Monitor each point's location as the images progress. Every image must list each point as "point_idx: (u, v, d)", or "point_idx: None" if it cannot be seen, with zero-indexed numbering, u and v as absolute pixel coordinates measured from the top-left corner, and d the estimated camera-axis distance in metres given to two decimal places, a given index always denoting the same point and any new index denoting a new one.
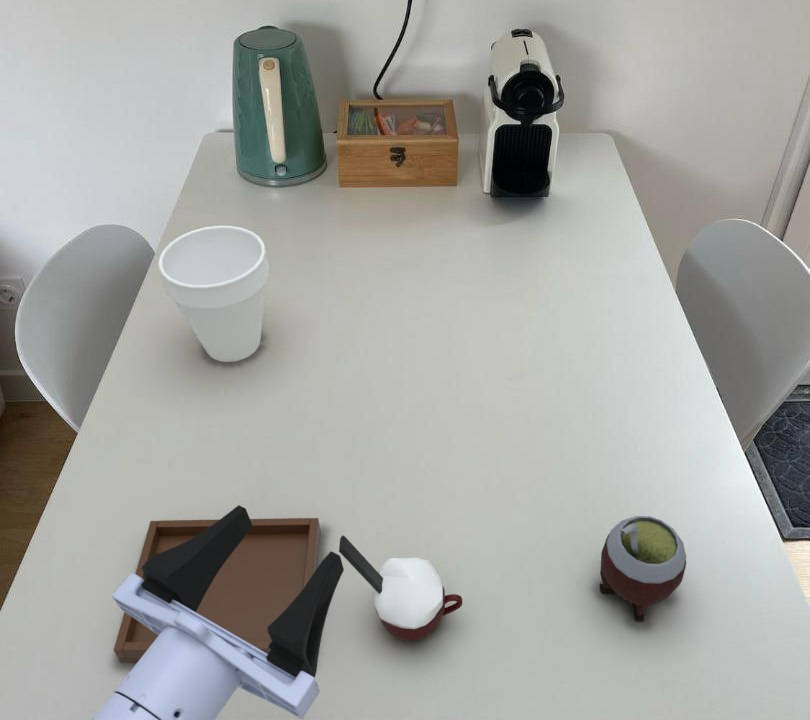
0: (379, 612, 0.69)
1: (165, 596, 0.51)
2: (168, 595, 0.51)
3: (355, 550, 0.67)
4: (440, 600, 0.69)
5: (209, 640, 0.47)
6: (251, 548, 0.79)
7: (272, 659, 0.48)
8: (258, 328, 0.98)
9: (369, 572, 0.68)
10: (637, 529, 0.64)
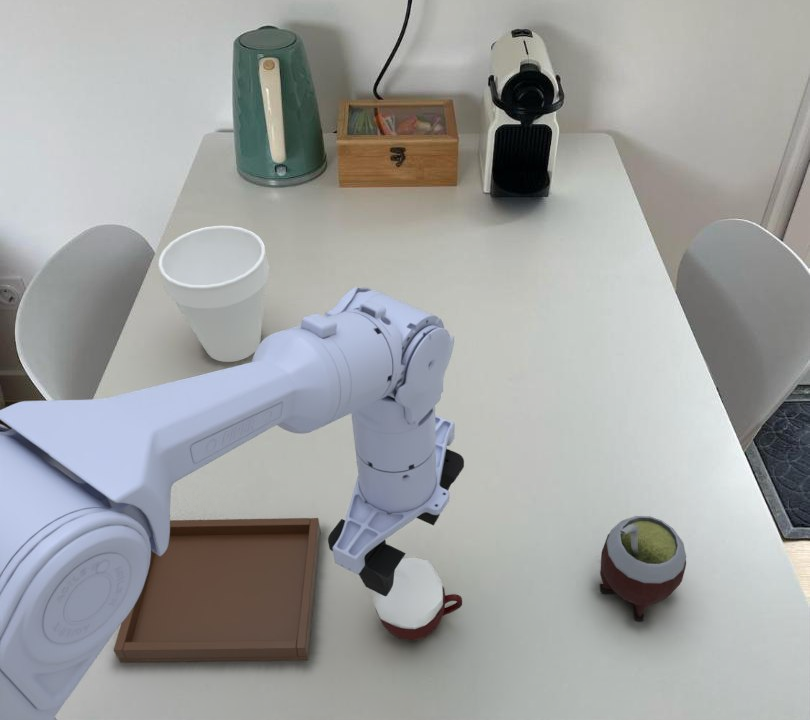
0: (379, 612, 0.69)
1: None
2: None
3: None
4: (440, 600, 0.69)
5: (423, 510, 0.58)
6: (251, 548, 0.79)
7: None
8: (258, 328, 0.98)
9: None
10: (637, 529, 0.64)
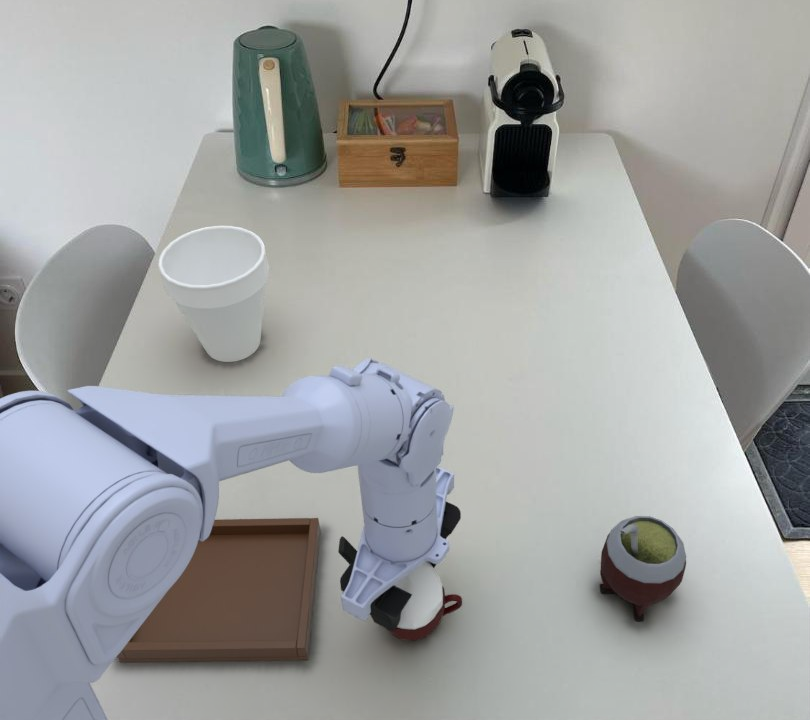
0: None
1: None
2: None
3: (354, 551, 0.67)
4: (440, 600, 0.69)
5: (424, 559, 0.63)
6: (251, 548, 0.79)
7: None
8: (258, 328, 0.98)
9: None
10: (637, 529, 0.64)
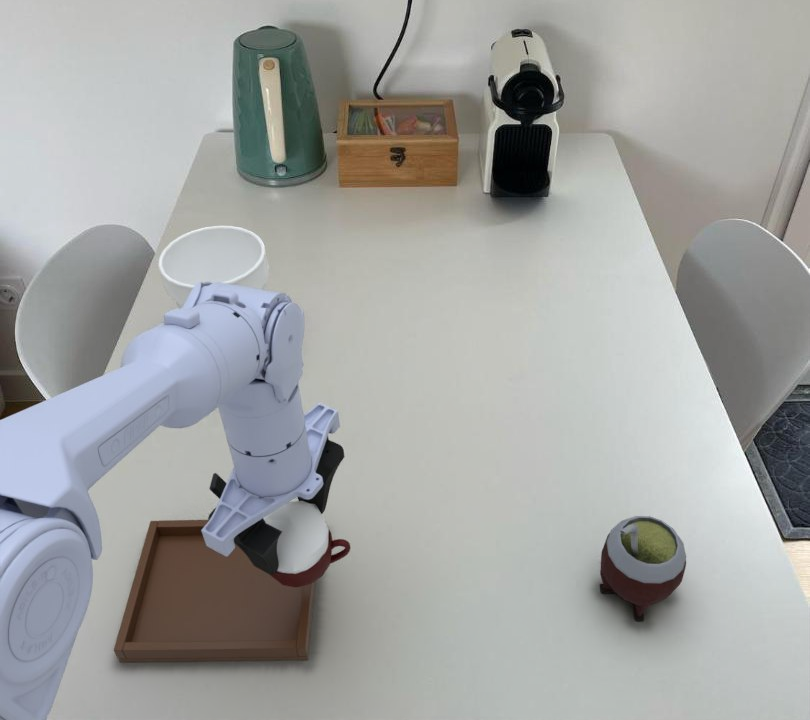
0: None
1: None
2: None
3: None
4: (322, 544, 0.66)
5: (295, 494, 0.60)
6: None
7: (250, 524, 0.60)
8: None
9: None
10: (637, 529, 0.64)
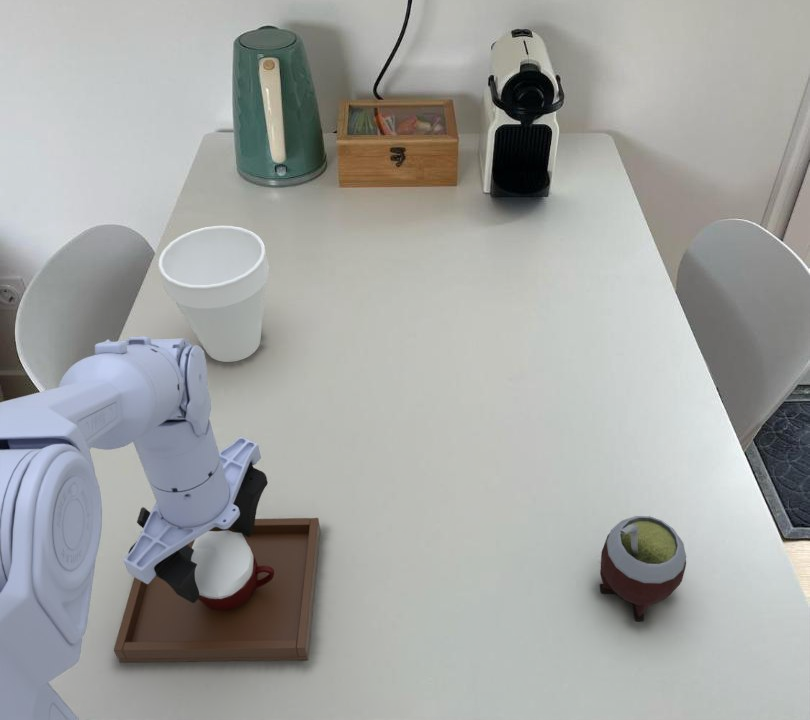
0: None
1: None
2: None
3: None
4: (246, 570, 0.71)
5: (212, 525, 0.65)
6: (251, 548, 0.79)
7: (171, 553, 0.64)
8: (258, 328, 0.98)
9: None
10: (637, 529, 0.64)
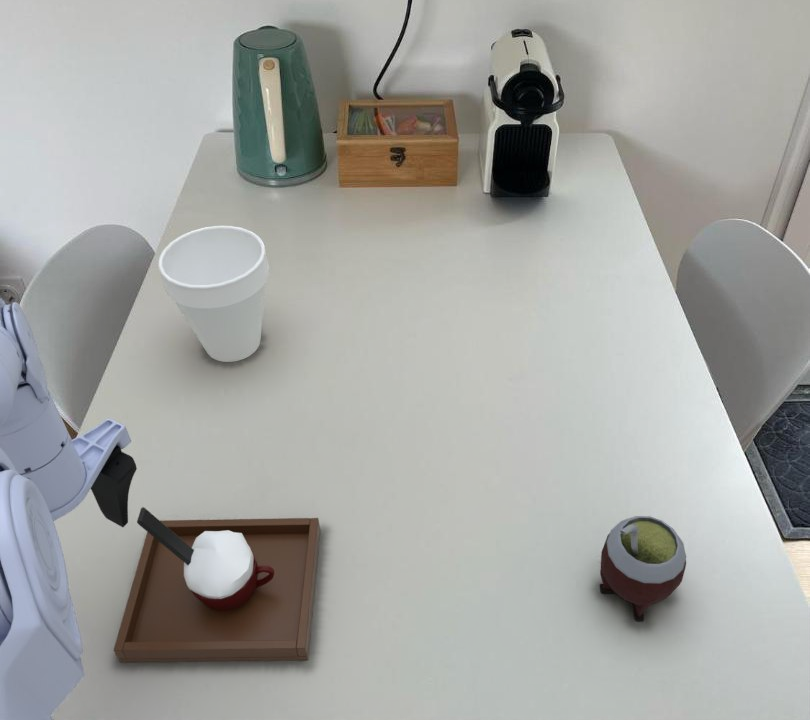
0: (187, 583, 0.71)
1: None
2: None
3: (157, 522, 0.69)
4: (246, 570, 0.71)
5: None
6: (251, 548, 0.79)
7: None
8: (258, 328, 0.98)
9: (174, 543, 0.70)
10: (637, 529, 0.64)
